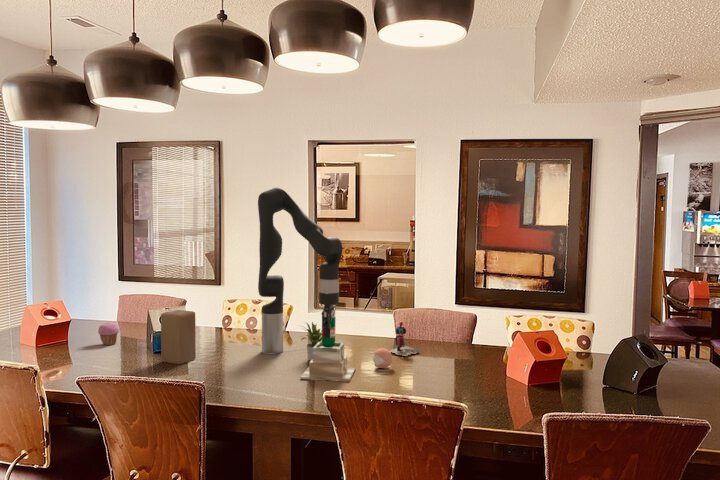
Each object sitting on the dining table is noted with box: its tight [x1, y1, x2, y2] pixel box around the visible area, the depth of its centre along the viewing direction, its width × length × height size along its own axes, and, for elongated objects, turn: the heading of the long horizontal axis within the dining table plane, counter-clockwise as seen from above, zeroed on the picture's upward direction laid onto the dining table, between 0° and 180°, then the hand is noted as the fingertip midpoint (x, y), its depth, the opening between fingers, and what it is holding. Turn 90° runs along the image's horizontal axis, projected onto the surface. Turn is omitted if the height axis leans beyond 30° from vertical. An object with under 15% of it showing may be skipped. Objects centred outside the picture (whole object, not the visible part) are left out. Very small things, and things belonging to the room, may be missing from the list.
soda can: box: [321, 314, 336, 348], centre depth 209 cm, size 5×5×12 cm
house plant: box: [297, 321, 322, 361], centre depth 230 cm, size 14×14×16 cm
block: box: [160, 309, 197, 365], centre depth 227 cm, size 10×10×20 cm
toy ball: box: [372, 347, 393, 369], centre depth 218 cm, size 8×8×8 cm
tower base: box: [300, 341, 356, 382], centre depth 209 cm, size 15×18×11 cm
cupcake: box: [97, 322, 120, 346], centre depth 254 cm, size 9×9×10 cm
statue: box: [389, 320, 421, 356], centre depth 241 cm, size 11×9×15 cm
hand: (328, 335), depth 209 cm, fingers closed on soda can, 5 cm apart
